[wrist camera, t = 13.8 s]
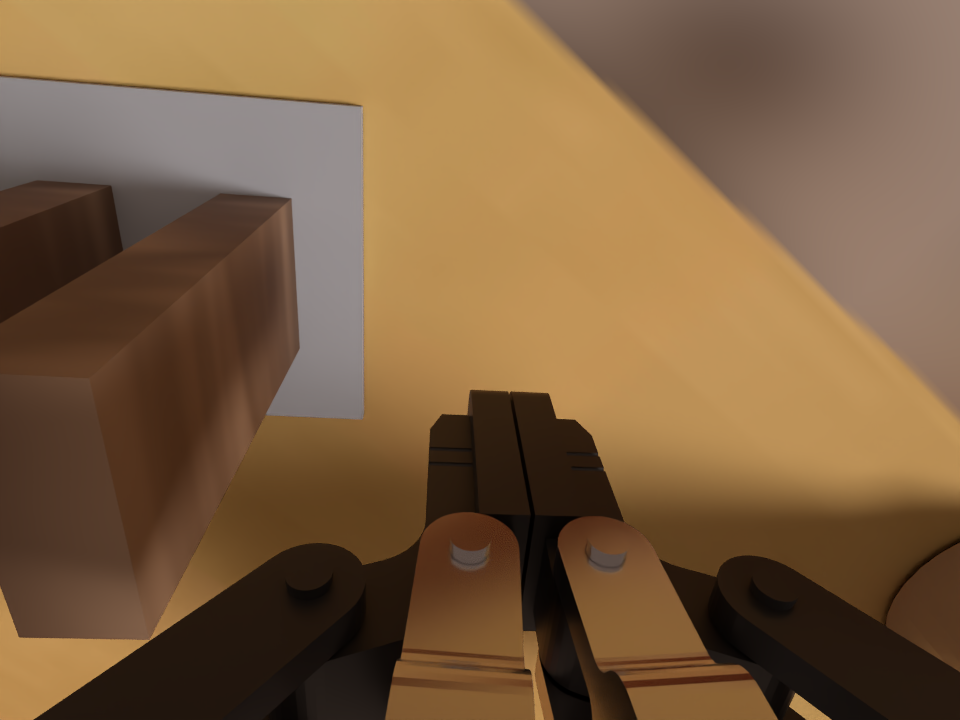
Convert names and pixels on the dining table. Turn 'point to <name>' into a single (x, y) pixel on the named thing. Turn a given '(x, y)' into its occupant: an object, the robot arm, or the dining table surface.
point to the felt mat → (208, 172)
